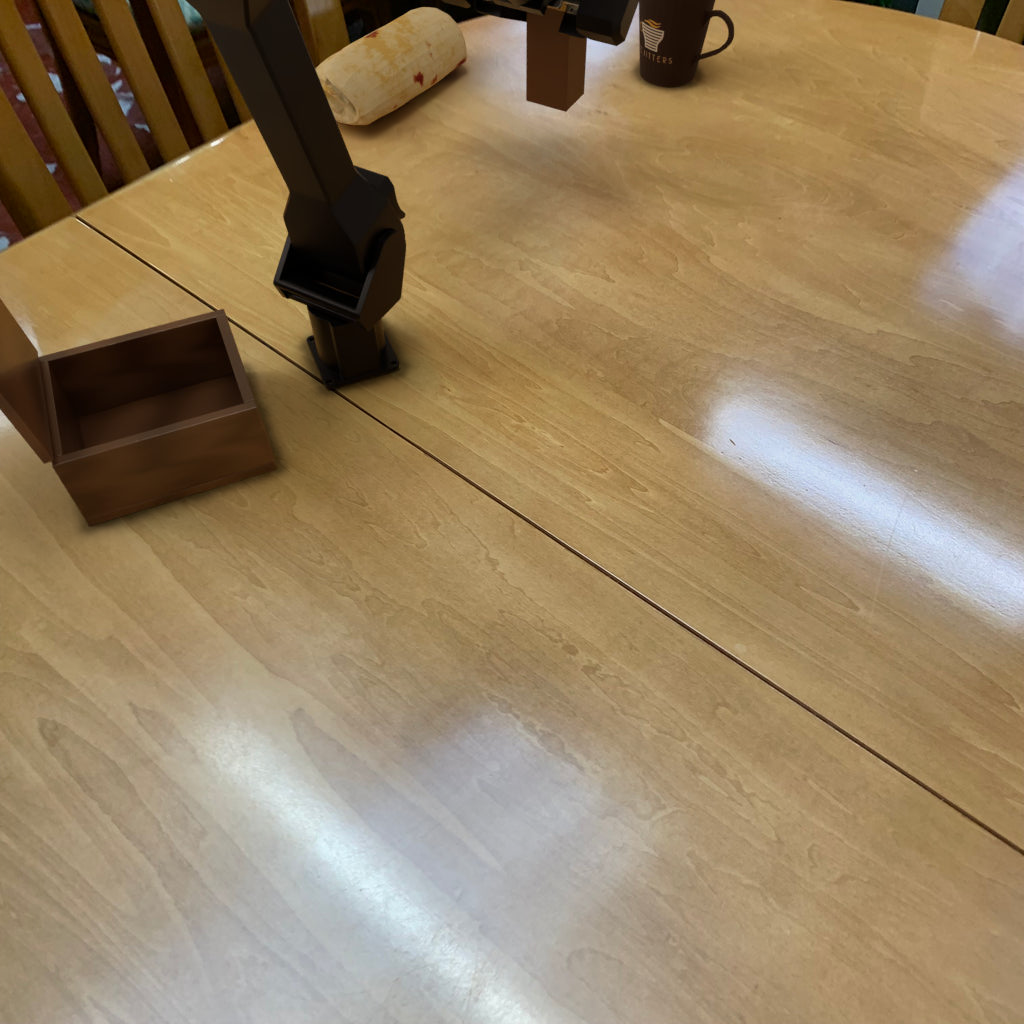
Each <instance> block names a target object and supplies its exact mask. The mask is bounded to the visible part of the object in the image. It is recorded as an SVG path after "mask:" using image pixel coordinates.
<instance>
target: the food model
mask: <svg viewBox="0 0 1024 1024" xmlns="http://www.w3.org/2000/svg"><path fill="white" fill-rule="evenodd" d="M466 44H467V43H466V40H465V37H464V33H463V31H462V30H461V28H460V26H459V25H458V23H457V22H456V21H455V19H453V17H452V16H451V15H450V14H448V13H447V12H445V11H442V10H441V9H440V8H437V7H430V6H422V7H417V8H414V9H410V10H409V11H407V12H406V13H404V14H403V15H401V16H398V17H397V18H395V19H393V20H392V21H390V22H389V23H387V24H385V25H383V26H381V27H379V28H377V29H375V30H374V31H371V32H370V33H368V34H366V35H364V36H363V37H361V38H359V39H357V40H355V41H353V42H351V43H349V44H348V45H346V46H345V47H343V48H342V49H340V50H338V51H337V52H335V53H333V54H332V55H330V56H328V57H327V58H325V59H324V60H323V61H322V62H320V63H319V65H318V66H317V67H315V69H316V72H317V74H318V77H319V79H320V82H321V84H322V87H323V89H324V92H325V94H326V97H327V99H328V102H329V104H330V107H331V109H332V112H333V114H334V117H335V119H336V122H337V123H341V124H344V125H351V126H367V125H370V124H372V123H373V122H375V121H376V120H379V119H380V118H382V117H384V116H386V115H388V114H390V113H392V112H394V111H396V110H398V109H399V108H401V107H403V106H404V105H405V104H406V103H408V102H410V101H411V100H413V99H414V98H415V97H418V96H419V95H420V94H422V93H424V92H426V91H427V90H428V89H430V88H432V87H433V86H434V85H436V84H437V83H439V82H440V81H441V80H442V79H444V78H445V77H446V76H448V75H449V74H450V73H452V72H453V71H454V70H456V69H457V68H459V67H461V66H462V65H463V64H465V63H466V62H467V59H468V52H467V51H468V50H467V45H466Z"/></svg>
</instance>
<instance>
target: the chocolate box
mask: <svg viewBox="0 0 1024 1024" xmlns="http://www.w3.org/2000/svg"><path fill="white" fill-rule="evenodd" d="M566 7H567V6H566V5H565V4H564V3H563V4H562V6H561V8H560V9H554V8H550V7H547V9H546V12H545V14H544V16H542V15H538V14H534V13H530V12H527V22H526V33H525V34H526V35H525V36H526V41H525V42H526V53H525V55H526V57H525V59H526V63H525V64H526V65H525V67H526V68H525V69H526V70H525V71H526V73H525V74H526V76H525V77H526V79H525V83H526V84H525V85H526V86H525V87H526V89H525V100H526V102H530V103H532V104H533V103H534V104H537V105H539V106H544V107H547V108H550V109H554V110H558V111H562V112H564V113H565V112H568V111H569V109H571V108H572V106H573V105H574V104H575V103H577V101H579V99H581V98H582V96H583V95H585V85H586V80H585V79H586V67H587V66H586V64H587V47H588V46H587V45H588V38H587V39H582V38H578V37H574V36H570V35H566V34H562V33H559V32H558V31H559V28H560V25H561V22H562V19H563V16H564V13H565V10H566Z"/></svg>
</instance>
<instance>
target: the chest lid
mask: <svg viewBox="0 0 1024 1024" xmlns="http://www.w3.org/2000/svg"><path fill="white" fill-rule="evenodd" d="M39 357H40V356H39V351H38V349H37V348H36V347H35V345H34V344H33V342H32V341H31V340H30V338H29V336H28V335H27V333H26V332H25V331H24V330H23V328H22V326H21V325H20V324H19V323H18V321H17V319H15V316H14V315H13V314H12V313H11V311H10V310H9V308H8V307H7V305H6V304H5V302H4V301H3V300H2V298H1V297H0V411H1V412H2V414H3V415H4V416H5V417H6V419H7V420H8V421H9V422H10V424H11V425H12V426H13V427H14V429H15V430H16V431H17V432H18V434H19V435H20V436H21V438H22V439H23V440H24V441H25V443H26V444H27V445H28V446H29V447H30V448H31V450H32V451H33V452H34V454H35V455H36V456H37V457H38V458H39V459H40V461H41V462H42V463H43V464H47V463H50V462H51V461H53V460H54V459H53V452H52V445H51V438H50V431H49V425H48V418H47V411H46V404H45V397H44V391H43V384H42V377H41V370H40V363H39Z"/></svg>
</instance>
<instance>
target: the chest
mask: <svg viewBox="0 0 1024 1024" xmlns="http://www.w3.org/2000/svg"><path fill="white" fill-rule="evenodd" d="M38 357H39V363H40V370H41V377H42V384H43V391H44V397H45V404H46V411H47V418H48V425H49V431H50V438H51V445H52V452H53V459H54V460H53V461H50V462H51V463H50V464H51V467H52V469H53V471H54V472H55V474H56V475H57V477H58V478H59V480H60V481H61V483H62V486H64V488H65V490H66V491H67V493H68V494H69V496H70V498H71V499H72V501H73V503H74V505H76V508H77V509H78V510H79V512H80V514H81V515H82V517H83V518H84V521H85V522H86V524H87V525H88V527H91V526H94V525H98V524H101V523H104V522H108V521H110V520H113V519H118V518H121V517H125V516H127V515H130V514H133V513H136V512H141V511H143V510H146V509H150V508H153V507H156V506H160V505H163V504H167V503H170V502H173V501H176V500H179V499H183V498H187V497H190V496H192V495H196V494H199V493H202V492H206V491H209V490H212V489H216V488H218V487H222V486H226V485H229V484H232V483H235V482H239V481H242V480H246V479H249V478H251V477H256V476H259V475H262V474H265V473H269V472H271V471H274V470H278V465H277V462H276V459H275V456H274V453H273V450H272V446H271V443H270V441H269V437H268V435H267V432H266V429H265V425H264V423H263V422H264V421H263V419H262V416H261V414H260V413H261V412H260V410H259V408H258V403H257V402H256V399H255V395H254V393H253V390H252V388H251V384H250V380H249V377H248V376H247V372H246V370H245V366H244V363H243V361H242V357H241V354H240V352H239V349H238V346H237V342H236V340H235V337H234V333H233V330H232V328H231V325H230V321H229V319H228V317H227V313H226V311H225V309H224V308H220V309H217V310H213V311H209V312H204V313H201V314H198V315H194V316H189V317H186V318H182V319H177V320H175V321H171V322H167V323H163V324H159V325H155V326H151V327H148V328H143V329H140V330H136V331H132V332H129V333H125V334H121V335H118V336H113V337H109V338H106V339H101V340H97V341H94V342H90V343H87V344H82V345H79V346H74V347H71V348H68V349H64V350H59V351H56V352H52V353H48V354H44V355H40V356H38Z"/></svg>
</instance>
